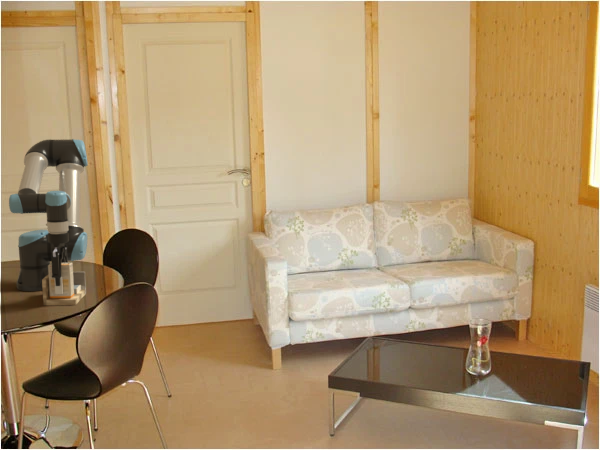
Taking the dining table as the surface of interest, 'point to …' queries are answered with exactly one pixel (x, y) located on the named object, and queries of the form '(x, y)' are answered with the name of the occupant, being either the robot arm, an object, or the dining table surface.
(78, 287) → the flat book
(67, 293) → the supplement box
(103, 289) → the dining table surface
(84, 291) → the shelf
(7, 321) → the dining table surface
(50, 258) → the robot arm
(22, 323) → the dining table surface
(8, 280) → the dining table surface
